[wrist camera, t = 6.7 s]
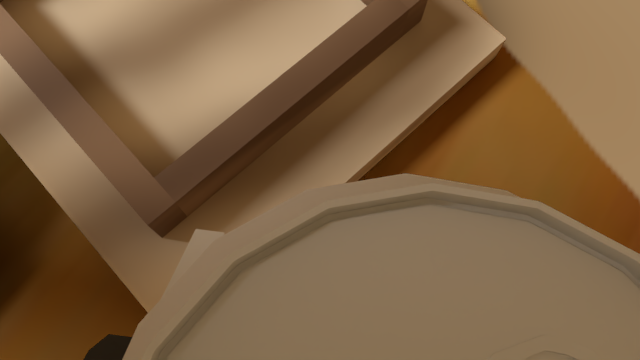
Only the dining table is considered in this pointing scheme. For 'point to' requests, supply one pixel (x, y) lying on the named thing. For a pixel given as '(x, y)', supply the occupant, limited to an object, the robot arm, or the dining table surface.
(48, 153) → the oak stand
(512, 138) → the dining table surface
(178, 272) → the robot arm
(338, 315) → the supplement can
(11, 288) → the dining table surface
